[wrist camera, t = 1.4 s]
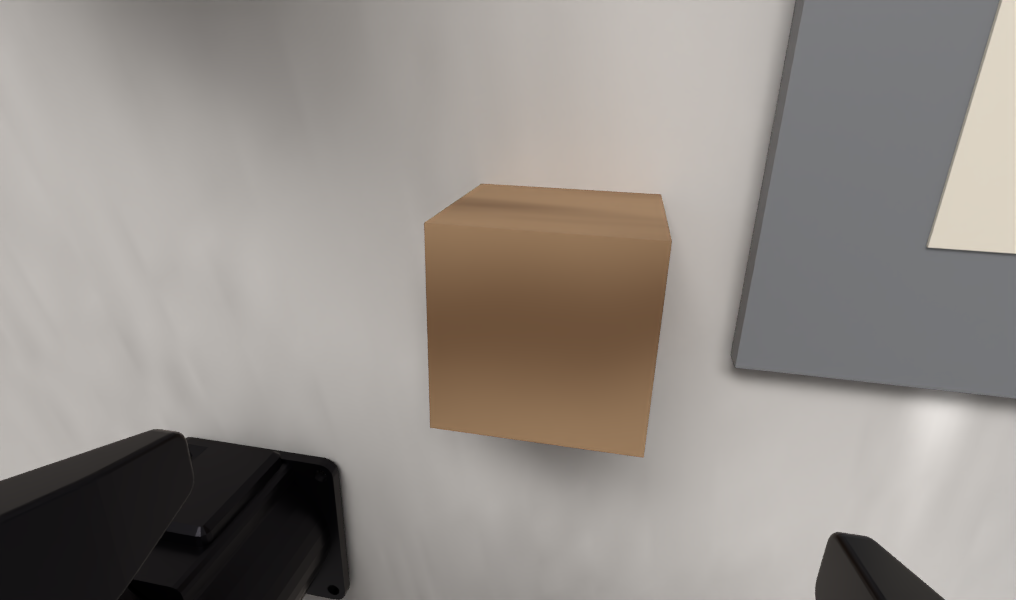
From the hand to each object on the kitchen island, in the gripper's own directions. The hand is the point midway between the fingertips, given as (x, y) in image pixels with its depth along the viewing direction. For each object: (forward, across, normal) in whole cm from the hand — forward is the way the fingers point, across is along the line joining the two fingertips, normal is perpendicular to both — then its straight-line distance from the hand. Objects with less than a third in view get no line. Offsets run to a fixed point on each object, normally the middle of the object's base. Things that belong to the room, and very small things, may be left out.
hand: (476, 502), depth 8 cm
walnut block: (+10, 0, 0) cm, 10 cm away
